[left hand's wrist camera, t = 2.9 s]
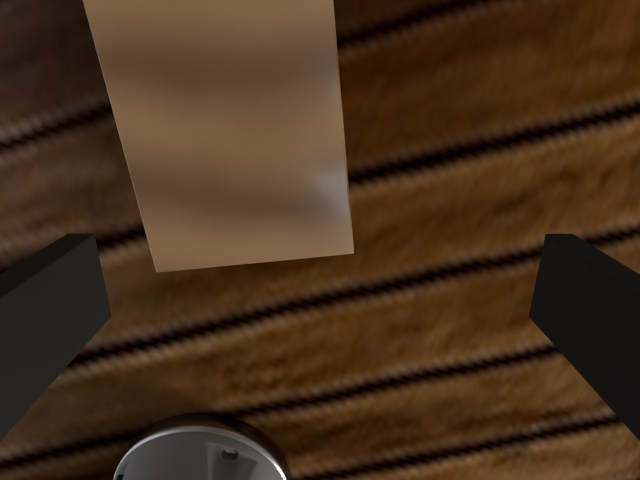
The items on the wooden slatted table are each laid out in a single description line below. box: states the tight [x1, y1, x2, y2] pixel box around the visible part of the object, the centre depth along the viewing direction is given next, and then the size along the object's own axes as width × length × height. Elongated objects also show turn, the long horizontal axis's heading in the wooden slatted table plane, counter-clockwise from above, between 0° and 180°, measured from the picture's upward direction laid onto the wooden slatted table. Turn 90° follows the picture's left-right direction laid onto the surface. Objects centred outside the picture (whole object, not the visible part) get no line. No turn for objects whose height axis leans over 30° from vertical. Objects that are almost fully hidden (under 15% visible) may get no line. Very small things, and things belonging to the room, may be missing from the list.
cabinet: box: [83, 0, 354, 272], centre depth 21 cm, size 18×10×9 cm, turn 6°
